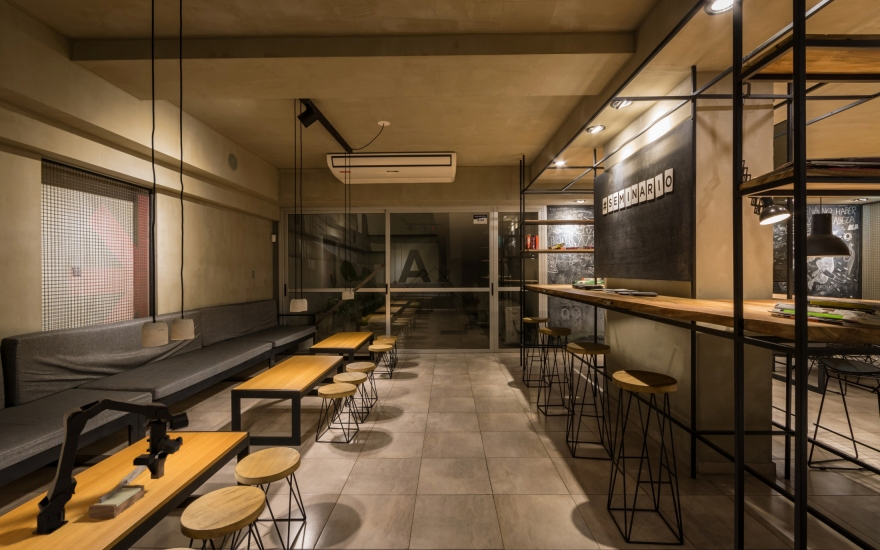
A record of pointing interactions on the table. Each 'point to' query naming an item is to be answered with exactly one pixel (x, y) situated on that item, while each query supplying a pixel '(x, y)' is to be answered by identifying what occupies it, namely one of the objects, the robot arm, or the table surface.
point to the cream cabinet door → (117, 496)
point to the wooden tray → (115, 505)
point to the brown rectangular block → (159, 469)
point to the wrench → (132, 475)
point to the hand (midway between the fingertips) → (157, 472)
